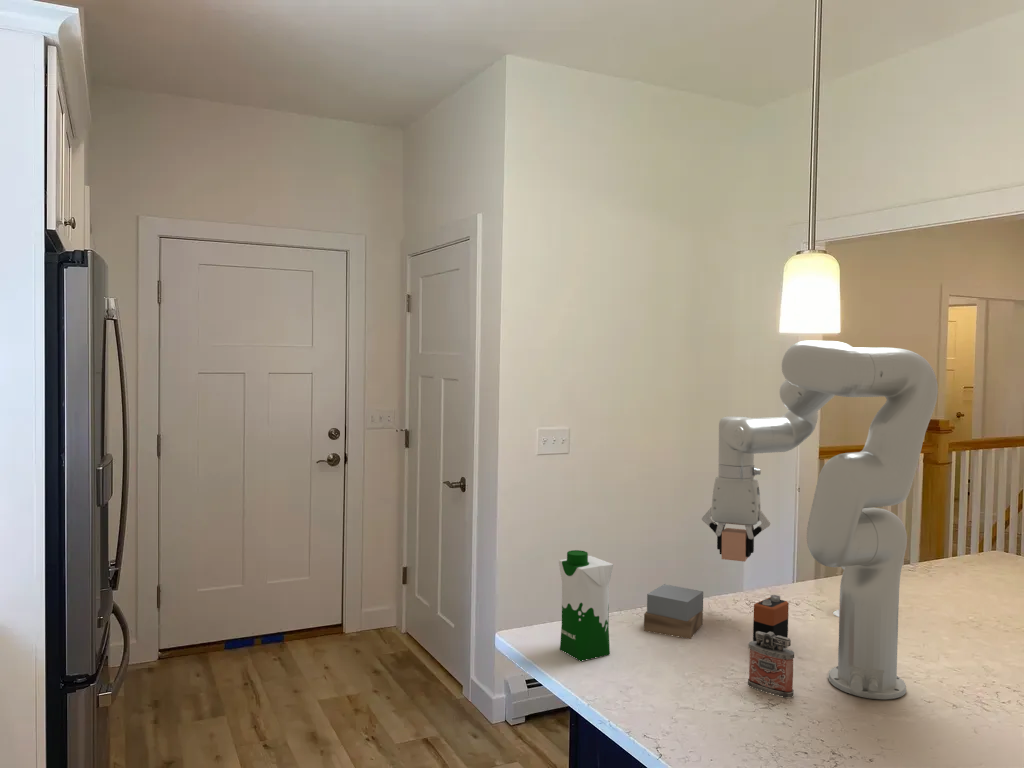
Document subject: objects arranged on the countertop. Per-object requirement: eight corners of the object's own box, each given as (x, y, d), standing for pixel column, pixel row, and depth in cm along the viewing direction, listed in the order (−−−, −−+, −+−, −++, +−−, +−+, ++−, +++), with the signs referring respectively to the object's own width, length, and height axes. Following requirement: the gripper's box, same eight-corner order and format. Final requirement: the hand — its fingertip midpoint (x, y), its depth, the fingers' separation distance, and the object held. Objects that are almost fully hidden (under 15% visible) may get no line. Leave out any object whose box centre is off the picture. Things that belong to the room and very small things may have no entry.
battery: (788, 646, 158) (789, 597, 157) (772, 654, 153) (773, 604, 153) (768, 640, 161) (769, 592, 160) (751, 648, 156) (752, 599, 156)
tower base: (690, 640, 161) (691, 621, 161) (643, 632, 166) (644, 613, 166) (702, 626, 170) (702, 607, 170) (657, 618, 175) (658, 600, 174)
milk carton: (553, 649, 155) (554, 549, 154) (590, 641, 159) (591, 543, 159) (579, 664, 147) (580, 559, 146) (617, 655, 152) (618, 553, 151)
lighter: (744, 686, 138) (745, 630, 138) (753, 680, 141) (754, 625, 140) (788, 700, 133) (790, 642, 132) (796, 693, 135) (798, 636, 135)
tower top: (687, 621, 161) (687, 602, 161) (646, 612, 166) (647, 594, 166) (703, 609, 169) (703, 591, 168) (664, 601, 174) (664, 584, 174)
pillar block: (744, 561, 170) (745, 534, 170) (721, 559, 172) (721, 531, 172) (748, 556, 174) (749, 529, 174) (726, 554, 176) (726, 527, 176)
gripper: (778, 472, 172) (777, 555, 173) (701, 468, 180) (700, 547, 180) (773, 477, 165) (773, 562, 166) (693, 472, 173) (692, 554, 173)
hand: (735, 553), depth 173 cm, fingers closed on pillar block, 4 cm apart
